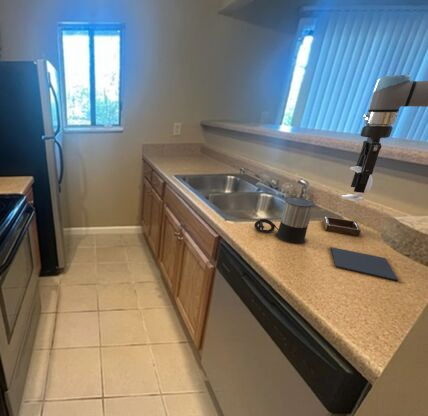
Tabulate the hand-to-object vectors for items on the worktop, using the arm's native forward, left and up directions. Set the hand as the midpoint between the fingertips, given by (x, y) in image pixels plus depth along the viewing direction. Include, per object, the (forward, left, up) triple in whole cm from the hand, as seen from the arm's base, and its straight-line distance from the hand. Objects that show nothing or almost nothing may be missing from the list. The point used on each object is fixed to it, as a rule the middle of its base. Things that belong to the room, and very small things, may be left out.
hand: (357, 189), depth 102 cm
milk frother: (+21, +15, -18) cm, 32 cm away
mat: (-2, +25, -18) cm, 31 cm away
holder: (0, -4, -18) cm, 18 cm away
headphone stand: (0, 0, -4) cm, 4 cm away
